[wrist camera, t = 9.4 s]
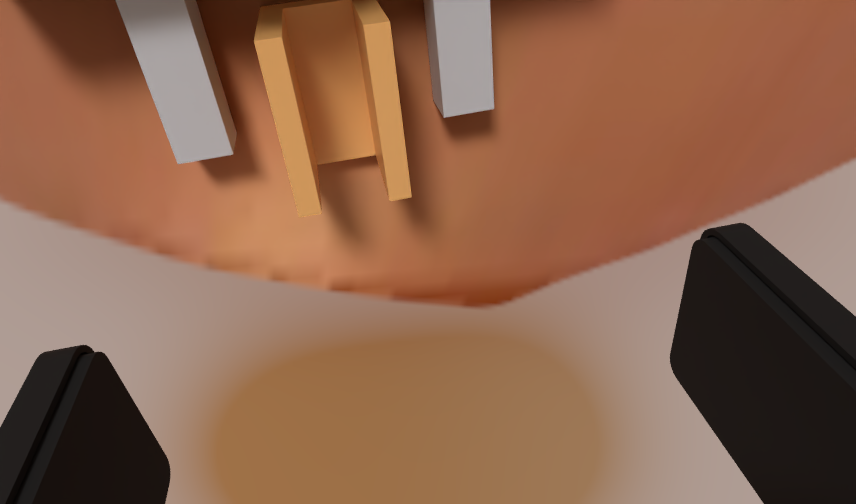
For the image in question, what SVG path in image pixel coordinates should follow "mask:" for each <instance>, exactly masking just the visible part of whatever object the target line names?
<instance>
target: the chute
mask: <svg viewBox="0 0 856 504" xmlns="http://www.w3.org/2000/svg"><path fill="white" fill-rule="evenodd" d="M254 44H255V48H256V51H257V55H258V59H259V63H260V67H261V71H262V75H263V79H264V83H265V87H266V91H267V94H268V98H269V102H270V106H271V110H272V114H273V118H274V122H275V126H276V130H277V133H278V137H279V141H280V145H281V149H282V153H283V157H284V161H285V165H286V169H287V173H288V176H289V180H290V184H291V188H292V192H293V196H294V200H295V204H296V208H297V212H298V216H299V218H300V217H305V216H311V215H317V214H322V209H321V199H320V188H319V178H318V168H317V165H320V164H326V163H332V162H338V161H344V160H349V159H355V158H361V157H367V156H373V155H376V158H377V161H378V164H379V168H380V171H381V174H382V178H383V181H384V184H385V188H386V191H387V194H388V198H389V201H394V200H400V199H405V198H411V197H412V195H411V187H410V179H409V171H408V163H407V155H406V147H405V139H404V131H403V123H402V115H401V107H400V98H399V90H398V82H397V74H396V66H395V58H394V50H393V42H392V34H391V26H390V21H389V19H388V17H387V16H386V14H385V13H384V11H383V10H382V8H381V7H380V5H379V3H378V2H377V0H304V1H296V2H289V3H282V4H275V5H268V6H260V11H259V16H258V21H257V27H256V32H255V37H254Z"/></svg>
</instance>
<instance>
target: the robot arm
mask: <svg viewBox="0 0 856 504" xmlns="http://www.w3.org/2000/svg"><path fill="white" fill-rule="evenodd" d="M670 363H671V367H672V370H673V373H674V375H675V376H676V378H677V380H678V381H679V382H680V384H681V385H682V387H683V388H684V389H685V391H686V393H687V394H688V395H689V397H690V398H691V400H692V401H693V403H694V404H695V405H696V407H697V408H698V410H699V411H700V413H701V414H702V415H703V417H704V418H705V420H706V421H707V422H708V424H709V425H710V427H711V428H712V430H713V431H714V433H715V434H716V436H717V437H718V438H719V440H720V441H721V443H722V444H723V446H724V447H725V448H726V450H727V451H728V453H729V454H730V456H731V457H732V459H733V460H734V461H735V463H736V464H737V466H738V467H739V468H740V470H741V471H742V473H743V474H744V476H745V477H746V478H747V480H748V481H749V483H750V484H751V486H752V487H753V488H754V490H755V491H756V493H757V494H758V496H759V497H760V499H761V500H762V501H763V503H764V504H856V316H854V315H853V314H852V313H851V312H850V311H848V310H847V309H846V308H845V307H844V306H843V305H841V304H840V303H839V302H838V301H837V300H836V299H834V298H833V297H832V296H831V295H830V294H829V293H827V292H826V291H825V290H824V289H823V288H822V287H820V286H819V285H818V284H817V283H816V282H815V281H813V280H812V279H811V278H810V277H809V276H808V275H806V274H805V273H804V272H803V271H802V270H801V269H799V268H798V267H797V266H796V265H795V264H794V263H792V262H791V261H790V260H789V259H788V258H787V257H785V256H784V255H783V254H782V253H781V252H779V251H778V250H777V249H776V248H775V247H774V246H772V245H771V244H770V243H769V242H768V241H767V240H765V239H764V238H763V237H762V236H761V235H760V234H758V233H757V232H756V231H755V230H754V229H753V228H751V227H750V226H748V225H747V224H744V223H737V224H732V225H727V226H721V227H716V228H710V229H707V230H705V231H704V232H703V234H702V236H701V238H700V240H697V241H695V242H694V244H693V246H692V250H691V255H690V260H689V265H688V269H687V274H686V280H685V284H684V289H683V295H682V299H681V304H680V309H679V314H678V319H677V324H676V329H675V334H674V338H673V343H672V348H671V353H670ZM169 483H170V466H169V461H168V459H167V457H166V455H165V453H164V452H163V450H162V448H161V446H160V445H159V443H158V441H157V440H156V438H155V436H154V435H153V433H152V431H151V430H150V428H149V426H148V425H147V423H146V421H145V420H144V418H143V416H142V415H141V413H140V411H139V410H138V408H137V406H136V404H135V403H134V401H133V399H132V398H131V396H130V394H129V393H128V391H127V389H126V388H125V386H124V384H123V383H122V381H121V379H120V378H119V376H118V374H117V372H116V371H115V369H114V367H113V366H112V364H111V362H110V361H109V359H108V358H107V356H106V355H105V354H104V353H102V352H94V351H93V350H92V348H90V347H89V346H87V345H80V346H74V347H69V348H64V349H59V350H53V351H48V352H44V353H42V354H40V355H39V357H38V358H37V359H36V361H35V363H34V365H33V366H32V368H31V370H30V372H29V374H28V376H27V378H26V380H25V382H24V384H23V385H22V388H21V389H20V391H19V393H18V395H17V397H16V399H15V401H14V403H13V405H12V406H11V408H10V410H9V412H8V414H7V416H6V418H5V420H4V422H3V424H2V425H1V427H0V504H165V501H166V497H167V492H168V487H169Z"/></svg>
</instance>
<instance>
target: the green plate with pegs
mask: <svg viewBox="0 0 856 504" xmlns="http://www.w3.org/2000/svg"><path fill="white" fill-rule="evenodd" d="M423 2H424V12H425V22H426V32H427V42H428V52H429V62H430V72H431V82H432V92H433V101H434V102H435V104H436V106H437V107H438V109H439V110H440V112H441V114H442V115H443V117H444V118H445V117H451V116H457V115H462V114H468V113H474V112H479V111H485V110H491V109H494V92H493V66H492V40H491V14H490V0H423ZM116 3H117V6H118V8H119V11H120V14H121V16H122V19H123V21H124V24H125V27H126V29H127V32H128V35H129V37H130V40H131V42H132V45H133V48H134V50H135V53H136V55H137V58H138V61H139V63H140V66H141V69H142V71H143V74H144V76H145V79H146V82H147V84H148V87H149V90H150V92H151V95H152V97H153V100H154V103H155V105H156V108H157V111H158V113H159V116H160V118H161V121H162V124H163V126H164V129H165V131H166V134H167V137H168V139H169V142H170V145H171V147H172V150H173V152H174V155H175V158H176V160H177V163H178V164H182V163H187V162H193V161H199V160H205V159H210V158H216V157H222V156H227V155H233V153H234V148H235V142H236V137H237V132H236V129H235V126H234V122H233V119H232V116H231V113H230V109H229V106H228V103H227V100H226V96H225V93H224V90H223V87H222V83H221V80H220V77H219V74H218V70H217V67H216V64H215V61H214V57H213V54H212V51H211V48H210V44H209V41H208V38H207V35H206V31H205V28H204V25H203V22H202V18H201V15H200V12H199V9H198V5H197V2H196V0H116Z"/></svg>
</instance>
